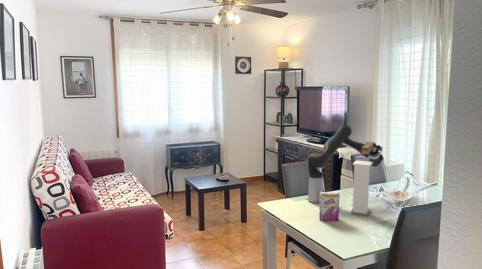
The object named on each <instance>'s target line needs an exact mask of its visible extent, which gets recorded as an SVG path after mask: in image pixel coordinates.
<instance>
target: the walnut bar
mask: <svg viewBox="0 0 482 269" xmlns="http://www.w3.org/2000/svg"><path fill="white" fill-rule="evenodd" d="M374 143H375V144H376V142H375V141H368V143H367V144H366V143H364V144H365V145H364V146H363V147H362V152H361V153H360V154H361V155H362V154H369V153H370V152H371V151H372V150H373V149H374V146H373V144H374Z"/></svg>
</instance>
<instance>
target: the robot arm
mask: <svg viewBox="0 0 482 269" xmlns="http://www.w3.org/2000/svg"><path fill="white" fill-rule="evenodd" d="M351 135H352V128H351V127H350V126H349V125H347V124H345V125H344V124H343V125H342V126H340V127H339V128H338V129H337V130H336V131H335V134H334V135H332V136H331V137H329V138H328V140H327V141H326V142H325V143H324V145H323V153H313V152H312V153H310V154H309V155H308V159H307V165H308V166H307V167H308V169H307V170H308V175H309V176H308V180H309V181H308V192H307V194H308V196H307V202H308V201H309V202H311V203H312V202H313V203H314V204H319V203H320V192H324V191H323V190H324V189H323V187H324V184H323V183H324V179H323V178H324V174H323V172H322V171H321V170H319V168H320V169H321V168H324V167H325V166H326V164H327V163H328V161H329V160H330V158H331V157H332V156H333V155H334V154H335V153H336V151H337V150H338V149H340V147H341V145H342V144H343V143H344V144H345V145H348V147H351V148H353V149H354V150H356V151H357V152H358V153H359V154H361V152H362V147H363V146H364V145H365V144H367V143H368V142H369V141H368V142H367V141H366V142H365V143H362V142H359V141H355V140H352V139H350V136H351ZM373 146H374V149H373V150H372V151H371V152H370V153H369V154H361V155H362V156H363V157H365V158H369V160H368V162H373V164H372V165H371V166H372V167H373V168H376V167H378V166H379V165H380V164H381V163H382V161H383V160H384V156H383V155H382V154H381V153H380V152H383V147H382V146H381V145H379V144H377V143H376V142H375V143H374V144H373Z"/></svg>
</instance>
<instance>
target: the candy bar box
mask: <svg viewBox="0 0 482 269" xmlns="http://www.w3.org/2000/svg"><path fill="white" fill-rule="evenodd" d="M340 196H341V195H340V192H337V191H336V192H334V191H333V192H332V191H323V192H320V203H318V204H319V205H318V207H319V208H318V209H319V211H318V219H319V221H329V222H330V221H331V222H333V221H335V222H338V221H339V219H340V218H339V217H340V216H339V214H340Z"/></svg>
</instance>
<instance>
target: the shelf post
mask: <svg viewBox="0 0 482 269" xmlns="http://www.w3.org/2000/svg"><path fill="white" fill-rule="evenodd" d="M372 164H373V162H369V160H368V161H367V160H365V161H364V160H355V161H354V162H353V163H352V165H353V166H354V168H353V191H352V192H353V193H352V195H353V198H352V209H351V211H350V214H352V215H356V216H362V215H363V216H364V217H369V215H370V213H371V210H372V209H371V208H369V195H370V194H369V193H370V192H369V190H370V187H369V186H370V167H371V166H372ZM363 216H362V217H363Z"/></svg>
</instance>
